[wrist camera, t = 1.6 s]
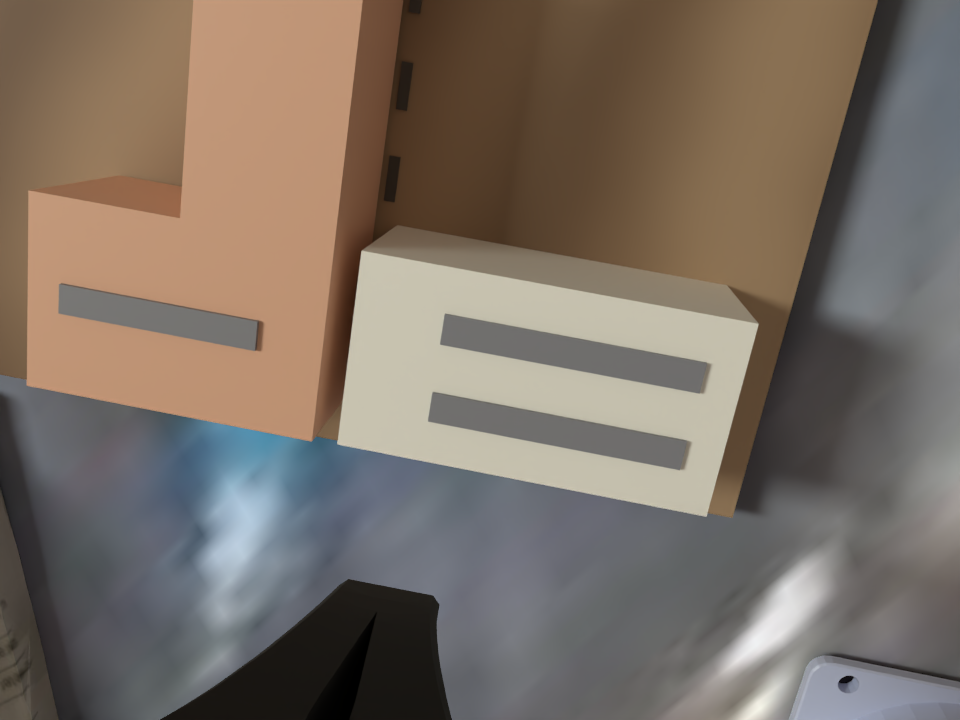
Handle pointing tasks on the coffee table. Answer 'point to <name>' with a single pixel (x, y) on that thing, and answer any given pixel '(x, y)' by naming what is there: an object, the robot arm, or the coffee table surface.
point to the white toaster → (544, 368)
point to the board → (498, 137)
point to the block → (228, 229)
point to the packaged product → (19, 640)
